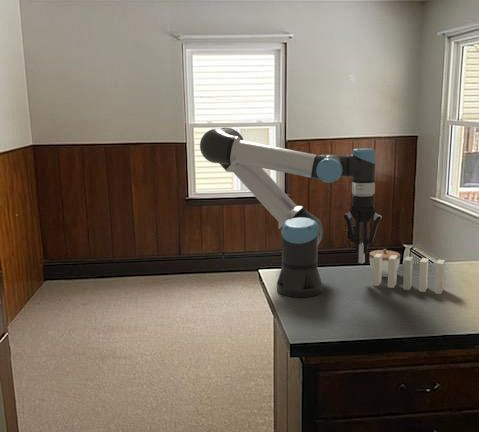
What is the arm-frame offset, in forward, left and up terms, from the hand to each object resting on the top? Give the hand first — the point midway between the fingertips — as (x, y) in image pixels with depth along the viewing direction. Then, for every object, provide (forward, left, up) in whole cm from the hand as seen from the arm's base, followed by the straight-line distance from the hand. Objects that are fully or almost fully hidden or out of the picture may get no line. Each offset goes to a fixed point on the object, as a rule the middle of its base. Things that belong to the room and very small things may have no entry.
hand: (361, 262), depth 181 cm
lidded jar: (+5, +12, -7) cm, 15 cm away
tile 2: (+10, 0, -7) cm, 13 cm away
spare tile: (+16, 0, -7) cm, 17 cm away
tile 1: (+5, 0, -7) cm, 9 cm away
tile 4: (+20, 0, -7) cm, 22 cm away
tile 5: (+25, 0, -7) cm, 26 cm away
